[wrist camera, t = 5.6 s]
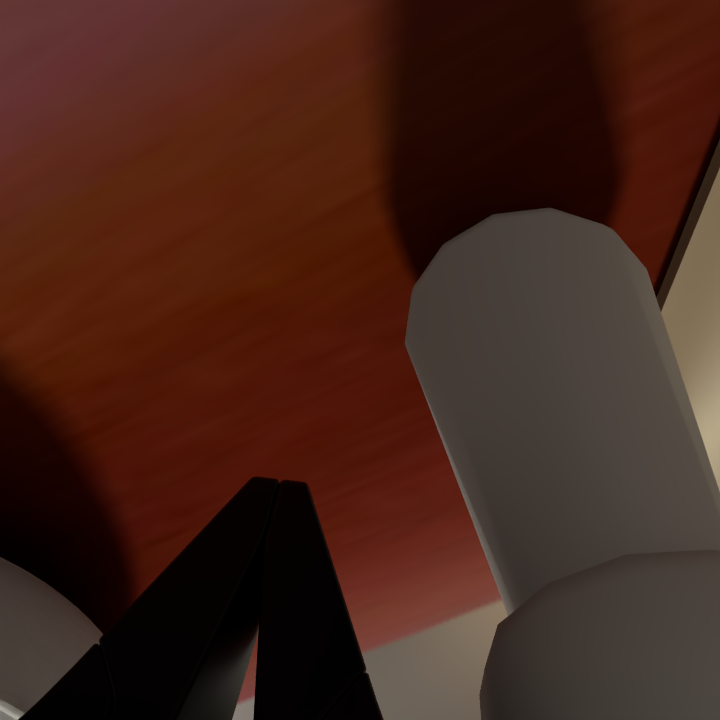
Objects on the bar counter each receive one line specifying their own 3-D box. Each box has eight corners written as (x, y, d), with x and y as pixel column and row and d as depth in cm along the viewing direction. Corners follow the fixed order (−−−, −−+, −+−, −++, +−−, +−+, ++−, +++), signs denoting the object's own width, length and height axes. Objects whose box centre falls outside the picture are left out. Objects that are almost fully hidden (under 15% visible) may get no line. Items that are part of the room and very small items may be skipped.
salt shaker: (663, 222, 16) (1323, 813, 5) (558, 396, 19) (804, 1009, 8) (448, 150, 15) (615, 642, 4) (375, 343, 18) (350, 935, 7)
